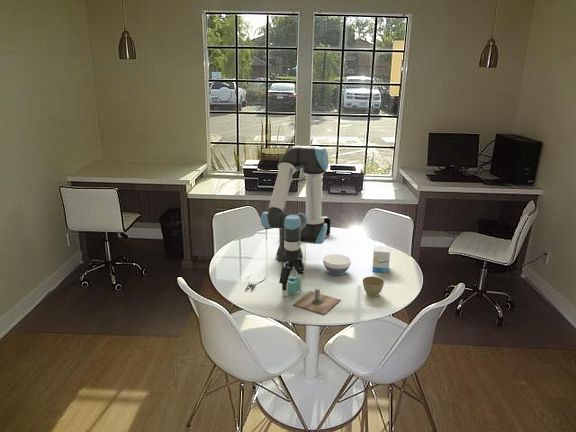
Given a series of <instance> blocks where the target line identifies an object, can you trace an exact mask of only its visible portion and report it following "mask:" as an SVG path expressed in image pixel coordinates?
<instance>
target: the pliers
mask: <svg viewBox="0 0 576 432" xmlns="http://www.w3.org/2000/svg"><path fill="white" fill-rule="evenodd" d="M254 284H255V283H251V284H249V283H248V285H247V286H246V287H247V288H245V291H246V290H247V289H248V290H249V289H250V292H251V291H252V290H253V289H254V288H255V289H256V286H257V285H256V284H255V285H256V286H255V285H254ZM248 287H252V288H248ZM255 289H254V290H255ZM248 290H247V291H248ZM254 290H253V291H254ZM247 291H246V292H247ZM253 291H252V292H253Z"/></svg>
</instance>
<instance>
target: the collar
mask: <svg viewBox="0 0 576 432" xmlns="http://www.w3.org/2000/svg"><path fill="white" fill-rule="evenodd" d="M287 283H288V293H290V294H289V295H292V294H293V296H295V295H296V294H298V293H299V292H300V291H301V287H300V285H301V286H302V278H301V279H299V278H296V276H290V275H289V278H288V281H287ZM298 291H299V292H298ZM297 292H298V293H297ZM294 294H295V295H294Z"/></svg>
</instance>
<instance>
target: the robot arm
mask: <svg viewBox="0 0 576 432" xmlns="http://www.w3.org/2000/svg"><path fill="white" fill-rule="evenodd" d="M328 168H329V155H328V151H327V149H326V148H325V147H322V146H318V145H317V146H315V145H313V146H312V145H295V146H291V147H290V148H289V149H287V150H286V151H285V152H284V153H283V154H282V156H281V157H280V159H279V161H278V164H277V169H278V173H277V176H276V180H275V184H274V187H273V191H272V193H271V194H272V195H271V198H270V202H269V205H268V210H267V211H263V212H262V213H261V215H260V224H261V226H262V227H264V228H269V229H272V228H273V229H279V230H278V231H279V234H278V236H279V237H278V238H279V240H278V241H279V242H278V243H279V245H278V247H277V251H276V256H275V257H276V259H277V260H278V261H279V262H282V264H281V271H280V275H279V281H278V284H281V294H282V295H281V296H285V297H288V296H289V294H288V283H287V281H288V278H289V277H290V275H291V272H292V271H293V269H294V270H295V272H296V273H295V278H299V279H301V280H302V275H304V272H305V267H304V263H303V258H304V254H303V251H302V248H301V243H305V244H313V245H316V244H317V245H322V244H323V243H324V242H325V239H326V236H327V235H326V232H327V224H326V223H324V219H323V218H322V217H323V216H322V203H323V202H322V201H323V200H322V198H323V197H322V196H323V195H322V193H323V191H322V190H323V185H322V184H323V175H324V174H325V173H326V170H328ZM297 169H302V174H304V175H305V213H303V212H298V213H295V214H294V213H286V212H285V213H284V210H285V207H286V202H287V198H288V194H289V192H290V191H289V190H290V186H291V183H292V178H293V175H294V173H296V171H297ZM301 287H302V284H301V285H300V288H301Z"/></svg>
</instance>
